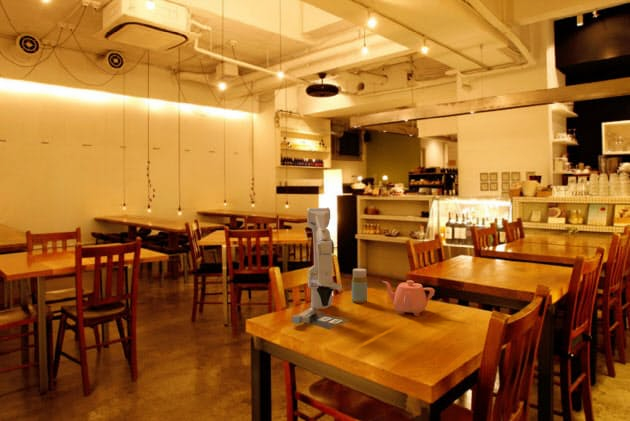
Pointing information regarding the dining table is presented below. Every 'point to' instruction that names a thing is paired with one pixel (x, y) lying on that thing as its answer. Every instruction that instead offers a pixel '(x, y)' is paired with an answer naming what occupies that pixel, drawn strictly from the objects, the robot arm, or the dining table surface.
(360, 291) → the bottle
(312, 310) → the swing arm
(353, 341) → the dining table surface
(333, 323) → the label
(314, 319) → the plate
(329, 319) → the label
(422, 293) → the teapot
